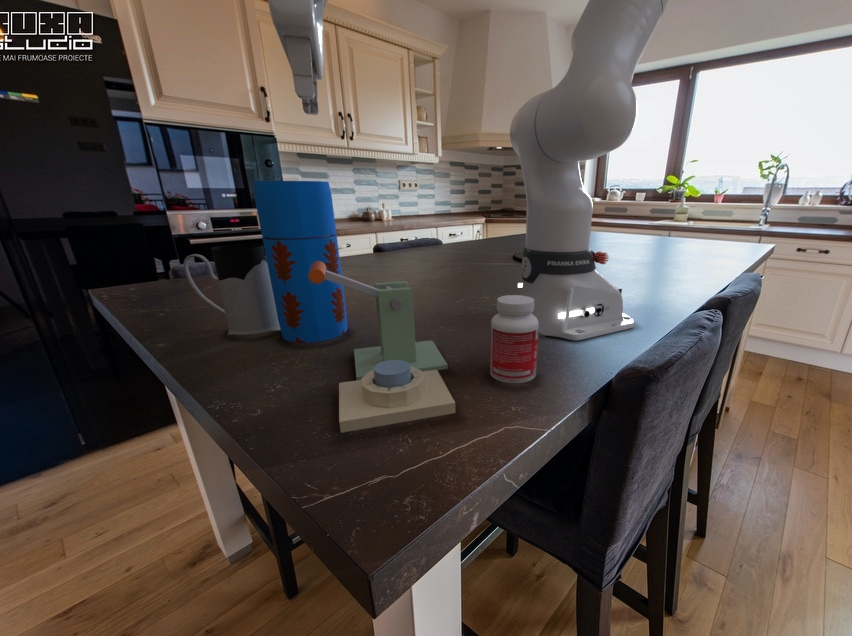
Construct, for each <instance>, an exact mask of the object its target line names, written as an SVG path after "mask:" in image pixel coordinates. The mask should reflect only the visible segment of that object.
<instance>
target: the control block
mask: <svg viewBox="0 0 852 636" xmlns="http://www.w3.org/2000/svg"><path fill="white" fill-rule="evenodd" d="M410 368H411V382H410V383H408V384H405V385H403V386H399V387H392V388H387V387H379V386H377V385H376V384H375V377H374V370H373V371H370V372H368V373H367V374H366V375H365V376H364V377H363V378H362V379H361V380H357V379H356V380H350V381H349V380H348V381H343V382H339V383H338V424H339V431H340V433H341V434H342V433H348V432H353V431H359V430H365V429H370V428H377V427H382V426H388V425H394V424H395V425H396V424H400V423H406V422H411V421H418V420H423V419H429V418H435V417H441V416H447V415H452V414H456V401H455V400H454V398H453V396H452V394H451V393H450V391H449V389H448V386H447V385H446V382H445V381H444V379H443V378H442V376H441V374H440V373H439V370H430V371H423V372H422V371H421V370H419V369H417V368H414V367H412V366H410Z"/></svg>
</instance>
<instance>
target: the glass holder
mask: <svg viewBox="0 0 852 636" xmlns="http://www.w3.org/2000/svg"><path fill="white" fill-rule="evenodd" d="M210 250H211V256H212V258H213V262H214V267H215V271H216V275H217V276H216V275H215V273H214V269H213V267H212V263H210V261H209V259H207V258H206V257H205V256H204V255H202V254H199V253H193V254H190V255H187V256H186V257H185V258H184V261H183V269H184V270H183V271H184V273H185V277H186V278H187V280H188V283H189V284H190V286H191V287H192V289H193V290H194V292H195V293H196V294H197V295H198V297H199V298H200V299H201V300H203V301H204V302H206V304H208V305H210V306H211V307H212V308H214V309H215V310H216V311H218V312H219V313H221V314H222V315H224V316H225V318H226V323H227V326H228V332H227V336H232V335H236V336H248V335H257V334H264V333H266V332H273V331H281V329H280V325H279V321H278V316H277V311H276V306H275V301H274V295H273V290H272V285H271V280H270V275H269V269H268V264H267V259H266V254H265V249H264V244H259V243H258V244H257V243H238V244H236V243H235V244H224V245H218V246H212V247H211V248H210ZM192 257H197V258H199V259H200V260H201V261H202V262H204V265H206V268H207V271H208V274H209V276H210V277H211V278H212V279H213V280H215V281H217V284H218V288H219V293H220V297H221V301H222V306H223V308H221V306H219V305H217V304H215V302H213V301H212V300H210V298H208V297H206V295H204V293H203V292H202V291H201V290H200V289H199V288H198V286H197V285H196V284H195V282H194V279H193V278H192V276H191V272H190V269H189V261H190V259H191V258H192Z"/></svg>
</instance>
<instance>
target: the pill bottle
mask: <svg viewBox="0 0 852 636" xmlns="http://www.w3.org/2000/svg"><path fill="white" fill-rule="evenodd" d="M533 310H534V299H533V298H531V297H527V296H521V294H520V295H519V294H508V295H507V294H506V295H502V296H499V297H497V299H496V311H497V313H496V314H494V316H493V317H492V318H491V320H490V350H489V351H490V355H489V356H490V357H489V358H490V359H489V374H490V376H491V377H492V378H493V379H495V380H496V381H498V382H502V383H507V384H522V383H528V382H530V381H532V380H534V379H535V378H536V377H537V366H538V365H537V364H538V350H539V332H538V331H539V322H538V320H537V318H536V317H535V316H534V315H532V312H533Z"/></svg>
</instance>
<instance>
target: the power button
mask: <svg viewBox="0 0 852 636" xmlns="http://www.w3.org/2000/svg"><path fill="white" fill-rule="evenodd" d="M374 377H375V384H376V385H377V386H379V387H387V388H392V387H399V386H403V385H405V384H408V383H410V382H411V368H410V364H409V363H408V362H406V361H403V360H388V361H384V362H381V363H379V364H377V365H376V366H375V367H374Z"/></svg>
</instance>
